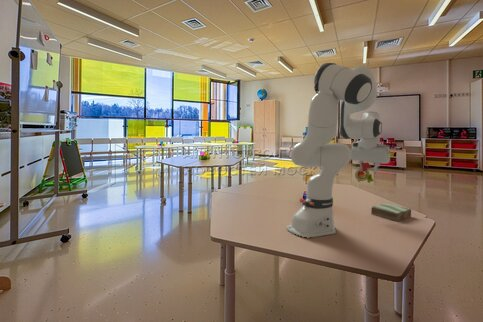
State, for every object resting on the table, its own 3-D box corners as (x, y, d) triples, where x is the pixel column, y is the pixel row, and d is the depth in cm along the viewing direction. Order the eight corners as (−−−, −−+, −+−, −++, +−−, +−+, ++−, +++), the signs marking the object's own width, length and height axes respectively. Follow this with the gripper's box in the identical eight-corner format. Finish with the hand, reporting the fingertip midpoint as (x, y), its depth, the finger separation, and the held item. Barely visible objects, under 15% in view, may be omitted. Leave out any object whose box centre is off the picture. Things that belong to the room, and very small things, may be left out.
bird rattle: (361, 187, 131) (378, 181, 130) (355, 168, 128) (372, 162, 127) (355, 183, 137) (371, 177, 136) (350, 165, 134) (366, 159, 133)
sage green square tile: (396, 221, 122) (396, 213, 122) (371, 214, 133) (371, 206, 133) (410, 216, 128) (411, 209, 128) (385, 210, 140) (386, 203, 139)
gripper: (393, 144, 122) (392, 172, 124) (356, 143, 140) (355, 167, 142) (386, 145, 119) (384, 173, 121) (348, 143, 137) (347, 168, 138)
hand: (368, 170), depth 131 cm, fingers open, 5 cm apart
